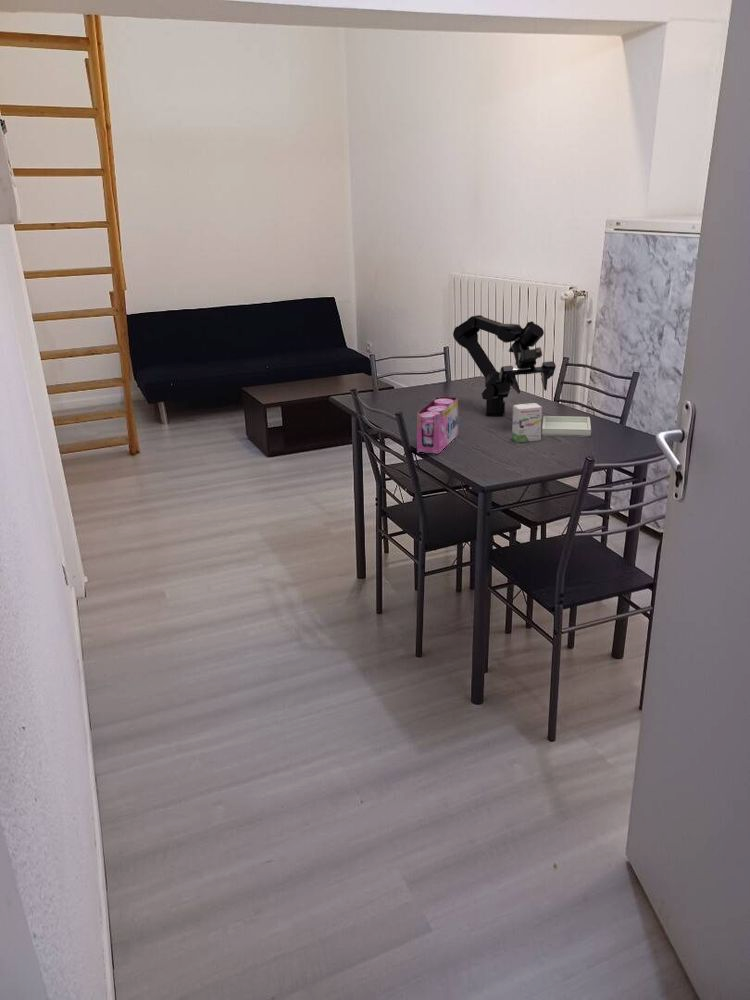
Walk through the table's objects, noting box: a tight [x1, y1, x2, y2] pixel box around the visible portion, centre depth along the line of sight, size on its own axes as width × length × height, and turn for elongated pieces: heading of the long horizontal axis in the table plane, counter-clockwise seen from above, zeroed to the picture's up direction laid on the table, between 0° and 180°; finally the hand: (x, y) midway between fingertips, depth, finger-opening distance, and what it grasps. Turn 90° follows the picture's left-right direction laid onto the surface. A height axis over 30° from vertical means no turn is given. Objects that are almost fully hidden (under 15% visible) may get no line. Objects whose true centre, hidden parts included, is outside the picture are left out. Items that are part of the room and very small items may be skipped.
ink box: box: [511, 402, 543, 444], centre depth 252 cm, size 8×5×12 cm, turn 102°
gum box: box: [416, 396, 459, 454], centre depth 251 cm, size 24×8×14 cm, turn 158°
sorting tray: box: [541, 415, 592, 438], centre depth 263 cm, size 16×16×2 cm
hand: (532, 391), depth 258 cm, fingers open, 9 cm apart
